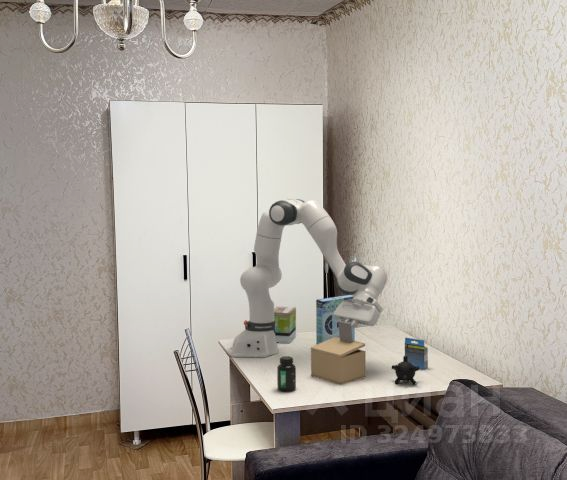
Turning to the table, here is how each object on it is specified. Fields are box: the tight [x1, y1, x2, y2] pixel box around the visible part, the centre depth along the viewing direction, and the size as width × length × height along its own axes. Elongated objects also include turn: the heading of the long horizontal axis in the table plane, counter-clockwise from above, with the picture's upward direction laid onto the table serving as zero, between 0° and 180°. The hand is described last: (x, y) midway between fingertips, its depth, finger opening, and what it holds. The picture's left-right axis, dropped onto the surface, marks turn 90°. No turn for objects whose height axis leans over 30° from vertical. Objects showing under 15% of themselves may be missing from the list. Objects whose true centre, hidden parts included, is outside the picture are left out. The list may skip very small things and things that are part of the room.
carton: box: [310, 349, 367, 386], centre depth 279 cm, size 14×16×10 cm
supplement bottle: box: [276, 355, 297, 393], centre depth 264 cm, size 7×7×12 cm
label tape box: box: [404, 337, 429, 370], centre depth 291 cm, size 9×4×12 cm, turn 56°
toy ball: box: [391, 354, 420, 385], centre depth 270 cm, size 11×11×12 cm
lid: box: [310, 321, 366, 357], centre depth 278 cm, size 14×16×9 cm
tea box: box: [274, 306, 297, 344], centre depth 341 cm, size 15×10×15 cm, turn 168°
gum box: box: [315, 294, 356, 345], centre depth 325 cm, size 20×5×23 cm, turn 126°
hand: (347, 330), depth 281 cm, fingers closed, pressing on lid
